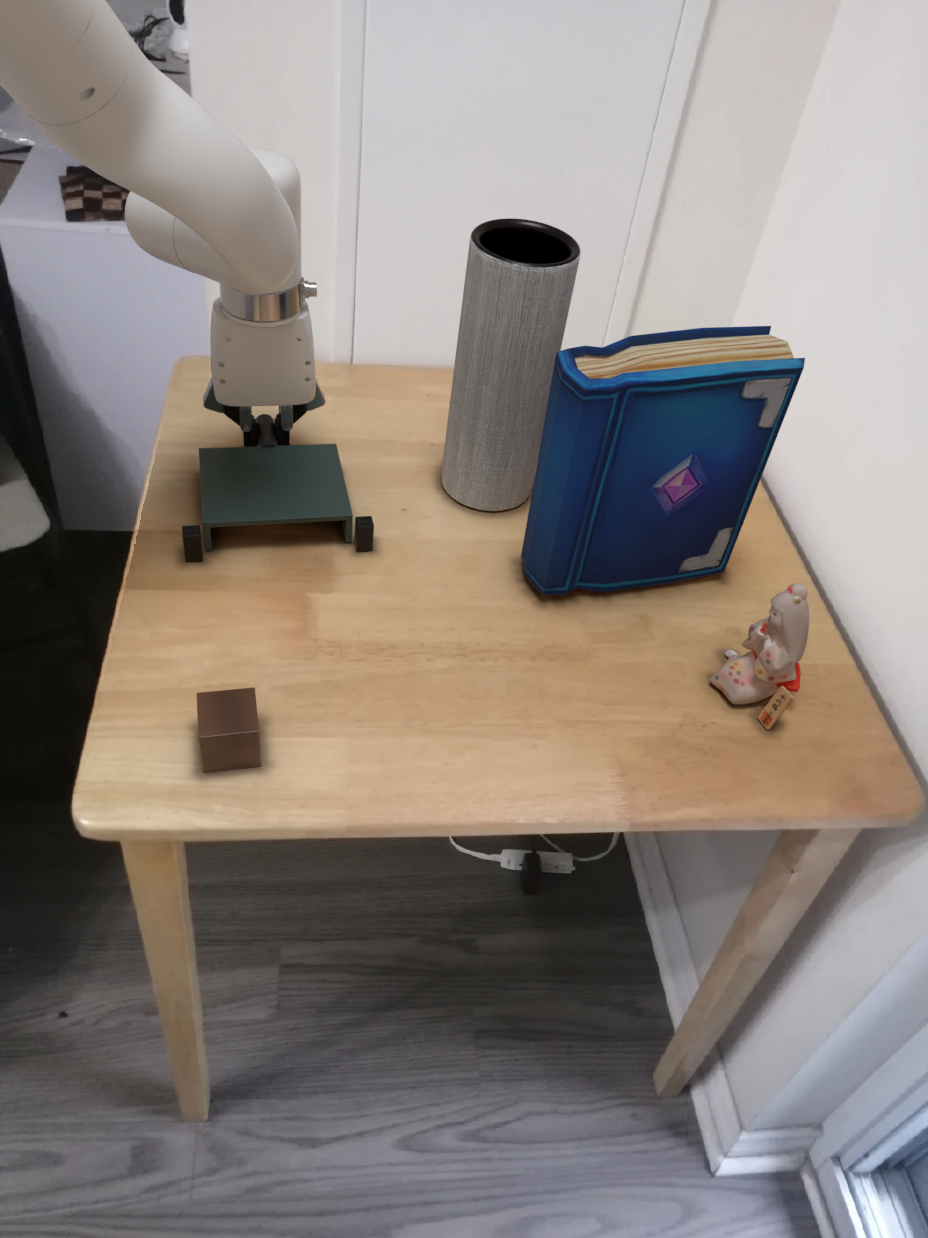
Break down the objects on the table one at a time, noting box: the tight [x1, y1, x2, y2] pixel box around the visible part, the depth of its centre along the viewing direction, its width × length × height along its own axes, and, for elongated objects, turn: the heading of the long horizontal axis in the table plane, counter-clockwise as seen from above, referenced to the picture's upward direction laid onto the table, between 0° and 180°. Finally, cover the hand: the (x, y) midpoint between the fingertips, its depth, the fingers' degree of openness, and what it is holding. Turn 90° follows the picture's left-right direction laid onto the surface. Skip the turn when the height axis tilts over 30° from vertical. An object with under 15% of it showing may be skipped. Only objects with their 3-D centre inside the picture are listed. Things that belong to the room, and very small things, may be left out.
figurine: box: [709, 582, 810, 731], centre depth 82 cm, size 9×7×12 cm
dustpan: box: [198, 413, 354, 551], centre depth 96 cm, size 17×14×4 cm
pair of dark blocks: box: [181, 515, 375, 563], centre depth 90 cm, size 2×18×3 cm, turn 103°
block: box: [196, 687, 262, 773], centre depth 73 cm, size 4×4×4 cm
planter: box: [440, 218, 582, 512], centre depth 93 cm, size 10×10×27 cm
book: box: [520, 325, 806, 596], centre depth 86 cm, size 22×7×25 cm, turn 108°
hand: (267, 454), depth 101 cm, fingers closed on dustpan, 2 cm apart
